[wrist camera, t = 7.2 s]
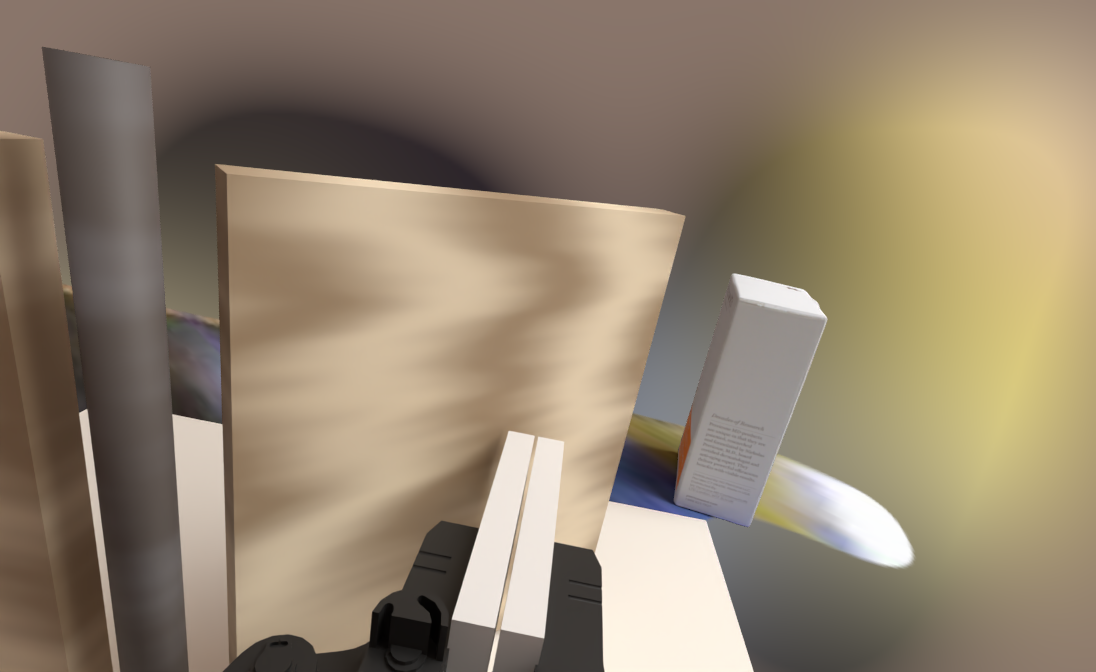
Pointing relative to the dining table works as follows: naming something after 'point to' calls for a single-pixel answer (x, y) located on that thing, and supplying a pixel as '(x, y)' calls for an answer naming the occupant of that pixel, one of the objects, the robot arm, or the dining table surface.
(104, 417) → the panel
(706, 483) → the skincare box
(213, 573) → the card
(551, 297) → the fence gate
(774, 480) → the dining table surface
